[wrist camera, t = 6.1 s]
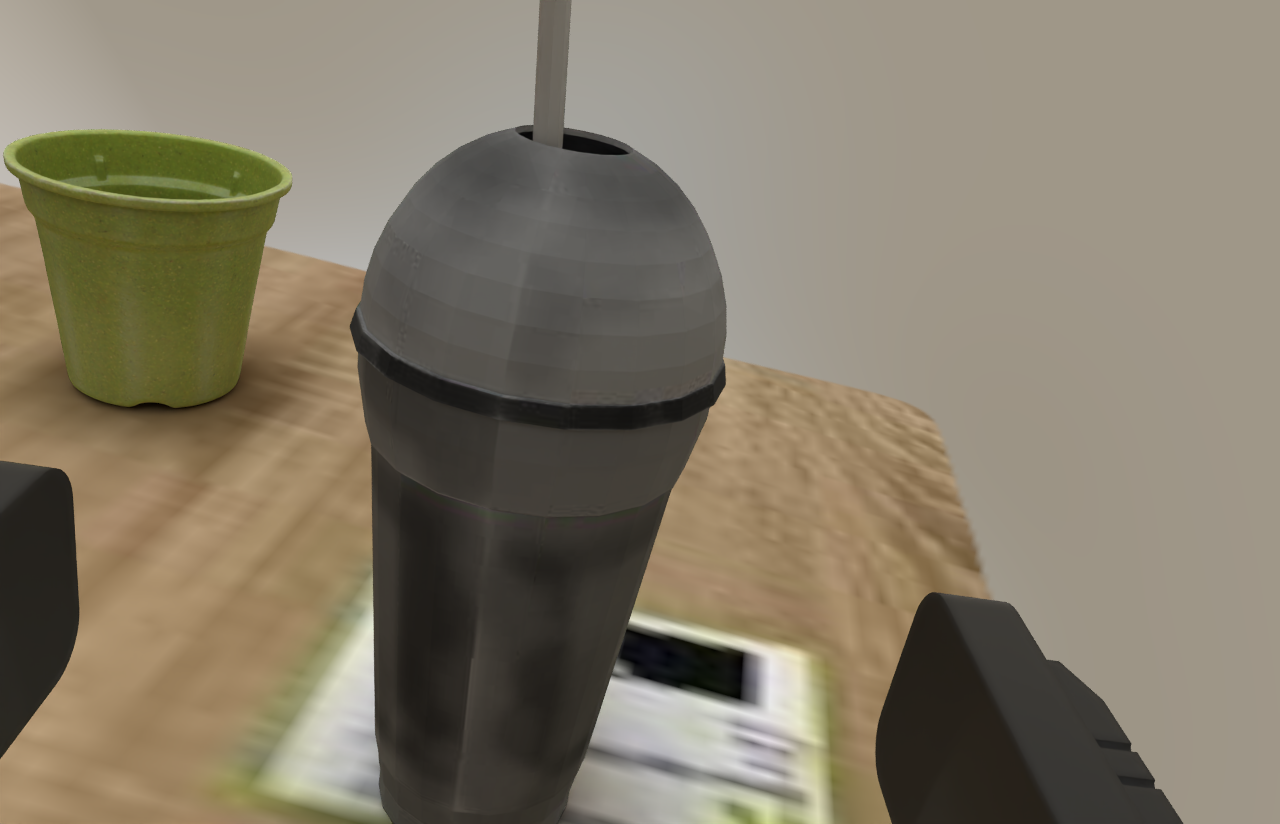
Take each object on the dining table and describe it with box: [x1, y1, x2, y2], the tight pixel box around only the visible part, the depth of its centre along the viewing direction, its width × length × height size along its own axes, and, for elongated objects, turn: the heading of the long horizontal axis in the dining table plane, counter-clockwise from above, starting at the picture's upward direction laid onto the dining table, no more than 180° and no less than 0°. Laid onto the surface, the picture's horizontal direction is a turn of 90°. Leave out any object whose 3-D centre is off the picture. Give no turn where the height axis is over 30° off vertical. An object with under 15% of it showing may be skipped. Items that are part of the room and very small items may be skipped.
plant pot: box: [3, 129, 292, 408], centre depth 39 cm, size 9×9×9 cm
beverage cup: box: [350, 0, 726, 824], centre depth 21 cm, size 7×7×20 cm
